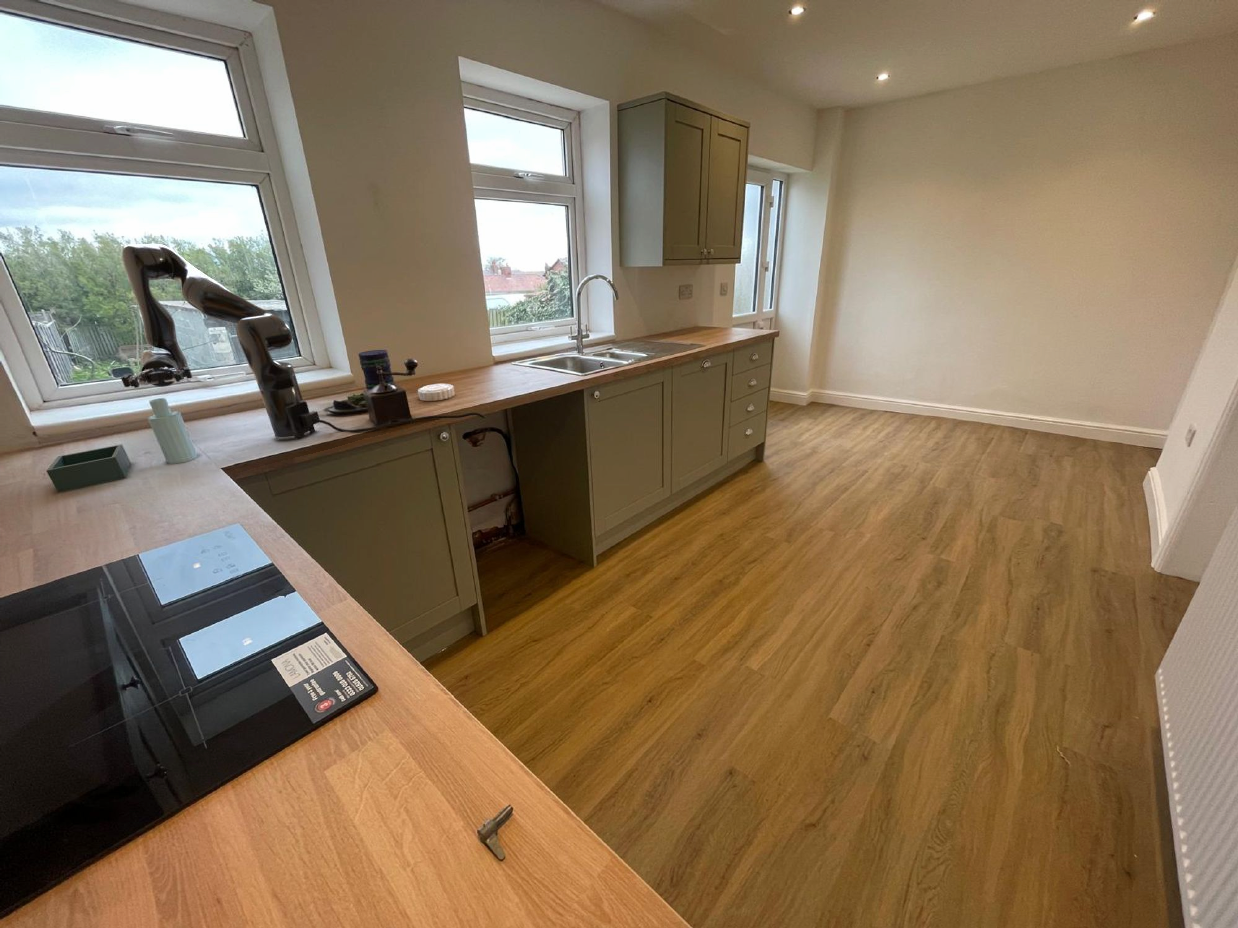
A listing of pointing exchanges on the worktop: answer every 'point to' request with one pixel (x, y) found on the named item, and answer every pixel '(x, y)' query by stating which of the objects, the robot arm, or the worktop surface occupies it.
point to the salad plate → (349, 406)
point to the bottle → (171, 433)
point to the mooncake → (436, 392)
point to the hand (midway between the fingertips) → (156, 380)
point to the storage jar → (375, 367)
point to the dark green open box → (89, 468)
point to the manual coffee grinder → (389, 398)
